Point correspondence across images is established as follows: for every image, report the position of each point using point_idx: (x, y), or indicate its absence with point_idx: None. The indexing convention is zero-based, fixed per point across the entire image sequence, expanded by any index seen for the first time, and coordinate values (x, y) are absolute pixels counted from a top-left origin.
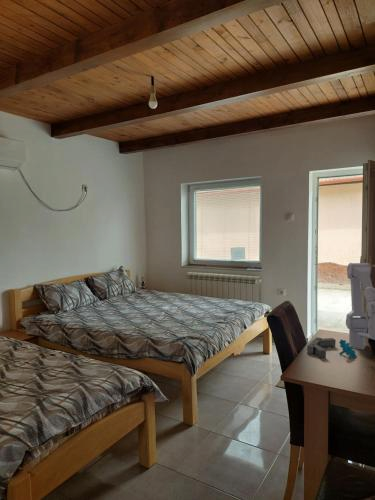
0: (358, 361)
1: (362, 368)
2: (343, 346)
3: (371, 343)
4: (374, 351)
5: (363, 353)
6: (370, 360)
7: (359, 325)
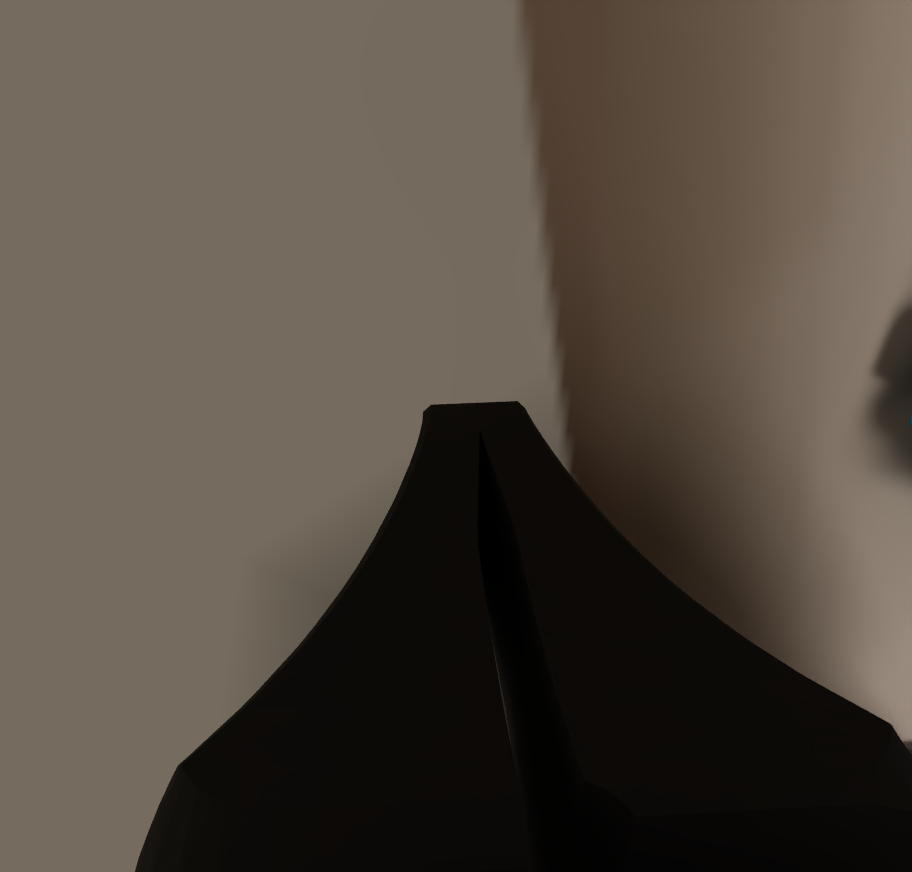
0: (878, 67)
1: None
2: None
3: (697, 717)
4: (476, 479)
5: None
6: (555, 354)
7: None
